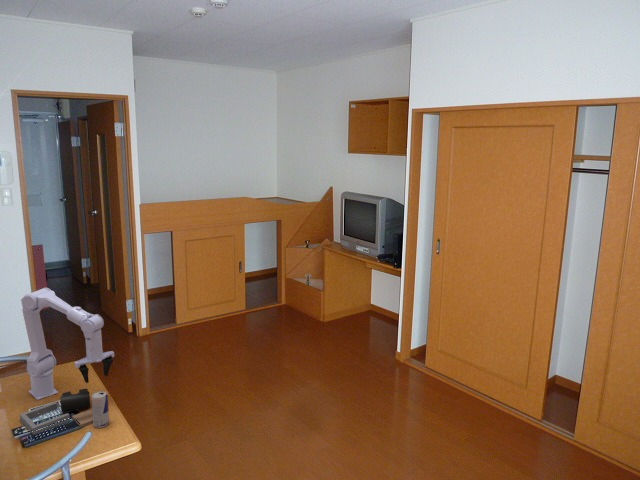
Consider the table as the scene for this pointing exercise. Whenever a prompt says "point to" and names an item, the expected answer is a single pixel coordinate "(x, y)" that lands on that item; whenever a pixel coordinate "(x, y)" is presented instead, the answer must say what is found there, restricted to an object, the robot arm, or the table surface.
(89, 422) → the walnut stand
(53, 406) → the corral stand
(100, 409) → the energy drink
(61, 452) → the table surface
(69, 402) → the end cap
